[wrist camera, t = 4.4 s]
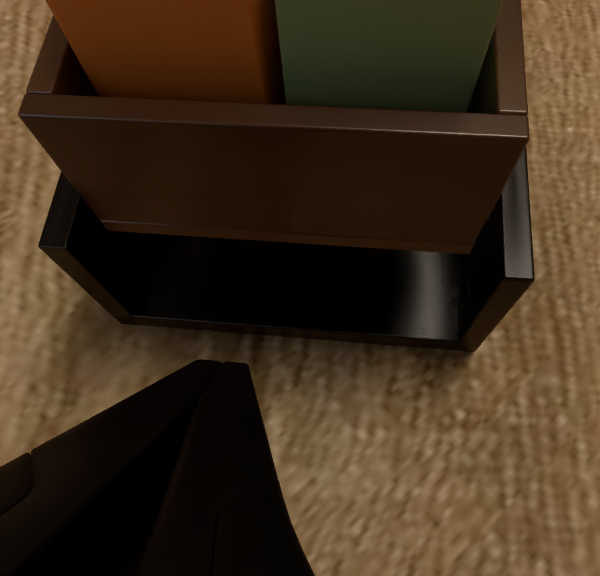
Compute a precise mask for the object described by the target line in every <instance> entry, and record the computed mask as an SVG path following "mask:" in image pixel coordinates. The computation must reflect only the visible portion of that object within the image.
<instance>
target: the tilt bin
mask: <svg viewBox="0 0 600 576" xmlns="http://www.w3.org/2000/svg"><path fill="white" fill-rule="evenodd" d="M26 92H27V94H25V95H24V98H23V101H22V104H21V107H20V109H19V112H18V115H19V117H20V119H21V120H22V121H23V122H24V124H25V125H26V126H27V128H28V129H29V130H30V131H31V133H32V134H33V135H34V136H35V138H36V139H37V140H38V142H39V143H40V144H41V145H42V147H43V148H44V149H45V151H46V152H47V153H48V154H49V156H50V157H51V158H52V160H53V161H54V162H55V163H56V165H57V166H58V167H59V169H60V170H61V171H62V172H63V174H64V175H65V176H66V178H67V179H68V180H69V181H70V183H71V184H72V185H73V187H74V188H75V189H76V190H77V192H78V193H79V194H80V196H81V197H82V198H83V199H84V201H85V202H86V203H87V205H88V206H89V207H90V208H91V210H92V211H93V212H94V214H95V215H96V216H97V217H98V219H99V220H100V221H101V223H102V224H103V225H104V227H105V228H106V229H107V230H108V231H120V232H135V233H151V234H166V235H181V236H196V237H212V238H227V239H242V240H257V241H272V242H288V243H303V244H318V245H333V246H349V247H364V248H379V249H394V250H410V251H425V252H440V253H455V254H470V253H471V251H472V249H473V247H474V245H475V243H476V241H477V239H478V237H479V235H480V233H481V232H482V230H483V228H484V226H485V224H486V222H487V220H488V218H489V216H490V214H491V212H492V210H493V208H494V206H495V205H496V203H497V201H498V199H499V197H500V195H501V193H502V191H503V189H504V187H505V185H506V183H507V181H508V179H509V177H510V176H511V174H512V172H513V170H514V168H515V166H516V164H517V162H518V160H519V158H520V156H521V154H522V152H523V150H524V149H525V147H526V145H527V143H528V141H529V139H530V137H529V122H528V116H527V114H528V105H527V90H526V75H525V60H524V45H523V30H522V15H521V0H503V3H502V6H501V9H500V12H499V15H498V18H497V21H496V24H495V27H494V31H493V34H492V37H491V40H490V43H489V46H488V49H487V52H486V55H485V58H484V61H483V64H482V67H481V70H480V73H479V76H478V79H477V82H476V85H475V88H474V91H473V94H472V97H471V100H470V103H469V106H468V109H467V112H443V111H420V110H397V109H375V108H352V107H329V106H306V105H283V104H260V103H238V102H215V101H192V100H169V99H146V98H123V97H101V96H98V94H97V93H96V91H95V89H94V87H93V85H92V84H91V82H90V80H89V78H88V76H87V74H86V73H85V71H84V69H83V67H82V65H81V64H80V62H79V60H78V58H77V56H76V55H75V53H74V51H73V49H72V47H71V46H70V44H69V42H68V40H67V38H66V37H65V35H64V33H63V31H62V29H61V27H60V26H59V24H58V22H57V20H56V18H55V17H54V15H53V17H52V20H51V23H50V26H49V28H48V31H47V34H46V37H45V39H44V42H43V45H42V48H41V50H40V53H39V56H38V59H37V62H36V64H35V67H34V70H33V73H32V75H31V78H30V81H29V84H28V86H27V89H26Z"/></svg>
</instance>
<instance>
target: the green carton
mask: <svg viewBox="0 0 600 576" xmlns="http://www.w3.org/2000/svg"><path fill="white" fill-rule="evenodd" d="M502 3H503V0H275V7H276V16H277V25H278V34H279V43H280V52H281V61H282V70H283V79H284V88H285V97H286V105H306V106H329V107H352V108H375V109H397V110H420V111H443V112H467V109H468V106H469V103H470V100H471V97H472V94H473V91H474V88H475V85H476V82H477V79H478V76H479V73H480V70H481V67H482V64H483V61H484V58H485V55H486V52H487V49H488V46H489V43H490V40H491V37H492V34H493V31H494V27H495V24H496V21H497V18H498V15H499V12H500V9H501V6H502Z"/></svg>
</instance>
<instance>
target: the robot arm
mask: <svg viewBox="0 0 600 576" xmlns="http://www.w3.org/2000/svg"><path fill="white" fill-rule="evenodd" d="M0 576H315V575H314V573H313V571H312V569H311V566H310V564H309V562H308V560H307V558H306V556H305V554H304V552H303V549H302V547H301V545H300V542H299V540H298V537H297V535H296V533H295V530H294V528H293V526H292V523H291V520H290V517H289V514H288V511H287V508H286V505H285V501H284V498H283V495H282V491H281V487H280V483H279V480H278V477H277V473H276V469H275V465H274V462H273V458H272V454H271V450H270V446H269V442H268V439H267V435H266V431H265V427H264V423H263V420H262V416H261V412H260V408H259V404H258V400H257V397H256V393H255V389H254V385H253V381H252V378H251V374H250V370H249V366H248V365H247V364H246V363H237V362H224V363H223V364H222V363H221V362H219V361H213V360H202V359H200V360H196V361H194V362H192V363H190V364H188V365H186V366H185V367H183V368H181V369H179V370H177V371H175V372H174V373H172V374H170V375H168V376H166V377H165V378H163V379H161V380H159V381H157V382H155V383H154V384H152V385H150V386H148V387H146V388H144V389H143V390H141V391H139V392H137V393H135V394H133V395H132V396H130V397H128V398H126V399H124V400H122V401H121V402H119V403H117V404H115V405H113V406H111V407H110V408H108V409H106V410H104V411H102V412H100V413H99V414H97V415H95V416H93V417H91V418H89V419H88V420H86V421H84V422H82V423H80V424H78V425H77V426H75V427H73V428H71V429H69V430H67V431H66V432H64V433H62V434H60V435H58V436H56V437H55V438H53V439H51V440H49V441H47V442H45V443H44V444H42V445H40V446H38V447H36V448H34V449H33V450H32V451H31V455H30V453H25V454H23V455H21V456H20V457H18V458H16V459H14V460H12V461H10V462H9V463H7V464H5V465H3V466H1V467H0Z"/></svg>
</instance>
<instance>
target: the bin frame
mask: <svg viewBox="0 0 600 576" xmlns="http://www.w3.org/2000/svg"><path fill="white" fill-rule="evenodd" d="M38 247H39V248H40V249H41V250H42V251H43V252H44V253H46V254H47V255H48V256H49V257H50V258H51V259H52V260H53V261H54V262H55V263H56V264H57V265H58V266H59V267H61V268H62V269H63V270H64V271H65V272H66V273H67V274H68V275H69V276H70V277H71V278H72V279H73V280H75V281H76V282H77V283H78V284H79V285H80V286H81V287H82V288H83V289H84V290H85V291H86V292H87V293H88V294H90V295H91V296H92V297H93V298H94V299H95V300H96V301H97V302H98V303H99V304H100V305H101V306H102V307H104V308H105V309H106V310H107V311H108V312H109V313H110V314H111V315H112V316H113V317H114V318H115V319H116V320H117V321H119V322H120V323H121V324H131V325H146V326H159V327H171V328H184V329H196V330H208V331H221V332H233V333H246V334H258V335H270V336H283V337H295V338H308V339H320V340H332V341H345V342H357V343H370V344H382V345H394V346H407V347H419V348H432V349H444V350H456V351H469V352H475V351H476V350H477V348H478V347H479V346H480V345H481V343H482V342H483V341H484V340H485V339H486V337H487V336H488V335H489V334H490V333H491V332H492V330H493V329H494V328H495V327H496V326H497V324H498V323H499V322H500V321H501V320H502V318H503V317H504V316H505V315H506V314H507V313H508V311H509V310H510V309H511V308H512V307H513V305H514V304H515V303H516V302H517V301H518V299H519V298H520V297H521V296H522V295H523V294H524V292H525V291H526V290H527V289H528V288H529V286H530V285H531V284H532V283H533V282H534V279H535V278H534V262H533V247H532V231H531V216H530V200H529V184H528V169H527V153H526V147H525V149H524V150H523V152H522V154H521V156H520V158H519V160H518V162H517V164H516V166H515V168H514V170H513V172H512V174H511V176H510V177H509V179H508V181H507V183H506V185H505V187H504V189H503V191H502V193H501V195H500V197H499V199H498V201H497V203H496V205H495V206H494V208H493V210H492V212H491V214H490V216H489V218H488V220H487V222H486V224H485V226H484V228H483V230H482V232H481V233H480V235H479V237H478V239H477V241H476V243H475V245H474V247H473V249H472V251H471V253H470V254H455V253H440V252H425V251H410V250H394V249H379V248H364V247H349V246H333V245H318V244H303V243H288V242H272V241H257V240H242V239H227V238H212V237H196V236H181V235H166V234H151V233H135V232H120V231H108V230H107V229H106V228H105V227H104V225H103V224H102V223H101V221H100V220H99V219H98V217H97V216H96V215H95V214H94V212H93V211H92V210H91V208H90V207H89V206H88V205H87V203H86V202H85V201H84V199H83V198H82V197H81V196H80V194H79V193H78V192H77V190H76V189H75V188H74V187H73V185H72V184H71V183H70V181H69V180H68V179H67V178H66V176H65V175H64V174H63V172H62V171H61V174H60V177H59V180H58V184H57V187H56V190H55V193H54V197H53V200H52V203H51V206H50V209H49V213H48V216H47V219H46V222H45V225H44V229H43V232H42V235H41V238H40V242H39V245H38Z"/></svg>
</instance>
